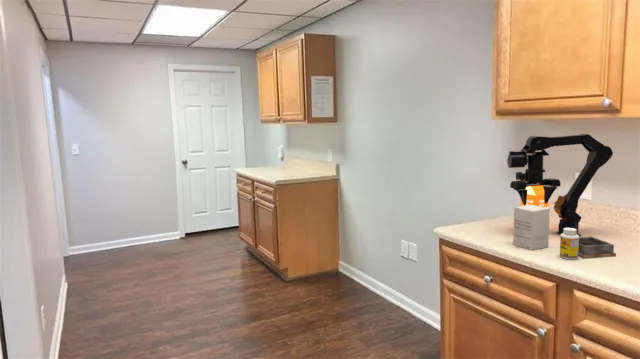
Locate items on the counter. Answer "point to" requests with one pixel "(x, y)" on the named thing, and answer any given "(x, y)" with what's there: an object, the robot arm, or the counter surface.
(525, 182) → the robot arm
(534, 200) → the orange juice
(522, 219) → the supplement box
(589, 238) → the tray
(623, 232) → the counter surface
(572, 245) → the supplement bottle
